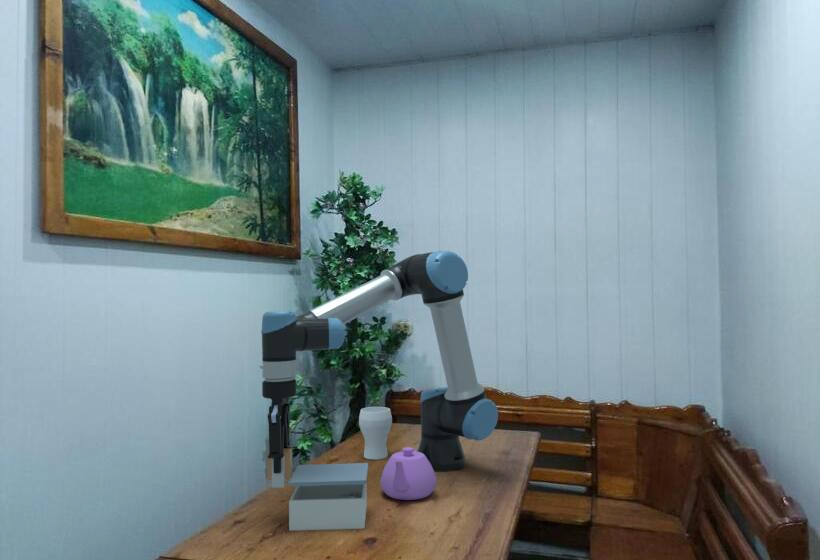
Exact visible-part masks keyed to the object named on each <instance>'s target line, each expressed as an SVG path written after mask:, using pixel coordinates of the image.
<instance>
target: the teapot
mask: <svg viewBox="0 0 820 560" xmlns="http://www.w3.org/2000/svg"><path fill="white" fill-rule="evenodd" d="M380 487H381V490H382V491H383V492H384V493H385V494H386V495H387V496H388V497H390V498H391V499H395V500H400V501H401V500H402V501H414V500H422V499H425V498H426V497H429V496H430V495H431V494H432V493H433V492H434V490H435V489H436V487H437V477H436V473H435V471H434V470H433V468H432V466H431V464H430V462H429V461H428V459H427V458H426V456H425V455H424V454H423V453H421V452H418V449H415V448H413V447H410V446H408V447H407V446H405V447H403V448H402V450H401V451H397V452H395V453H393V454H392V455H391V456H390V457H389V459H388V461H387V462H386V465H385V466H384V468H383V471H382V474H381V478H380Z"/></svg>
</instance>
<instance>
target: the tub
mask: <svg viewBox="0 0 820 560" xmlns="http://www.w3.org/2000/svg"><path fill="white" fill-rule="evenodd" d="M367 483H368V482H367V481H366V484H353V485H321V486H295V488H294V490H293V492H292V495H291V496H290V498H289V502H288V529H289V531H290V532H292V531H293V532H294V531H321V530H323V531H325V530H328V531H329V530H359V529H363V530H364V529H365V525H366V518H367V517H366V515H367V507H368V505H367V502H368V501H367V493H368V490H367V488H368V487H367ZM344 494H354V495H356V498H340V497H341V496H342V495H344Z"/></svg>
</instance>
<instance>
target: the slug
mask: <svg viewBox="0 0 820 560" xmlns="http://www.w3.org/2000/svg"><path fill="white" fill-rule="evenodd" d="M340 498H356V495H354V494H344V495H342V496H341V497H340Z"/></svg>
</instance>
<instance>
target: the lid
mask: <svg viewBox="0 0 820 560" xmlns="http://www.w3.org/2000/svg"><path fill="white" fill-rule="evenodd" d="M283 454H284V456H283V457H285V479H288V482H287V487H297V486H321V485H353V484H366V481H367V479H368V471H369V462H357V463H351V462H350V463H324V464H322V463H321V464H320V463H319V464H317V463H316V464H298V465H297V467H296V468H295V469H294V472H293V448H292V447H291V448H287V449H283ZM268 455H269V450H268V451H267V453H266V465H267V466H266V473H267V476H266V477H267V478H266V479H267V481H272V458H268Z"/></svg>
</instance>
